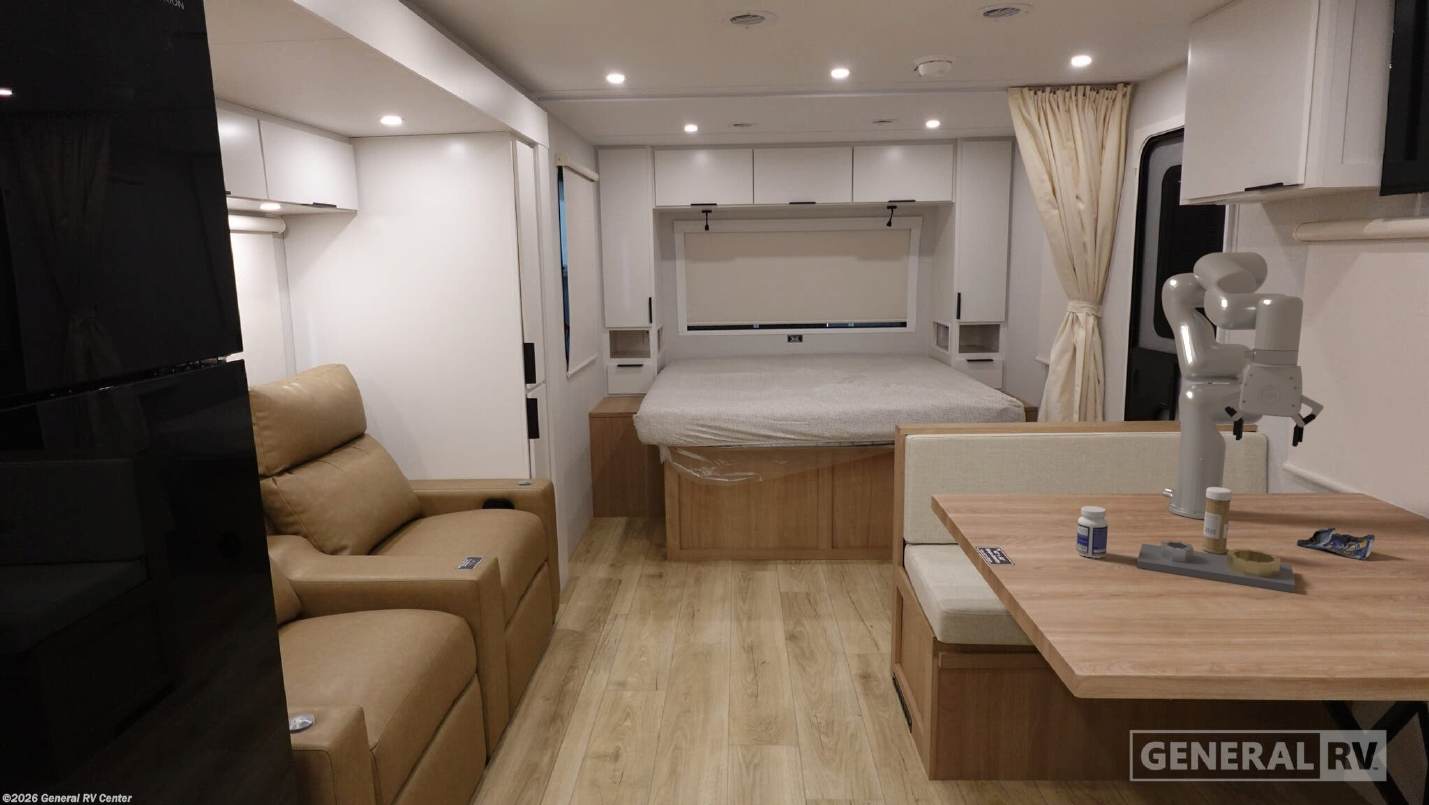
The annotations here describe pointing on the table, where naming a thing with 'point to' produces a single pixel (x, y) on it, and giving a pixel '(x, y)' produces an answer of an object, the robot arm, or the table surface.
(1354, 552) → the snack package
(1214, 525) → the sprinkles bottle
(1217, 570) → the mounting board
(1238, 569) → the brass collar
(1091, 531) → the pill bottle
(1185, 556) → the steel collar
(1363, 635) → the table surface
